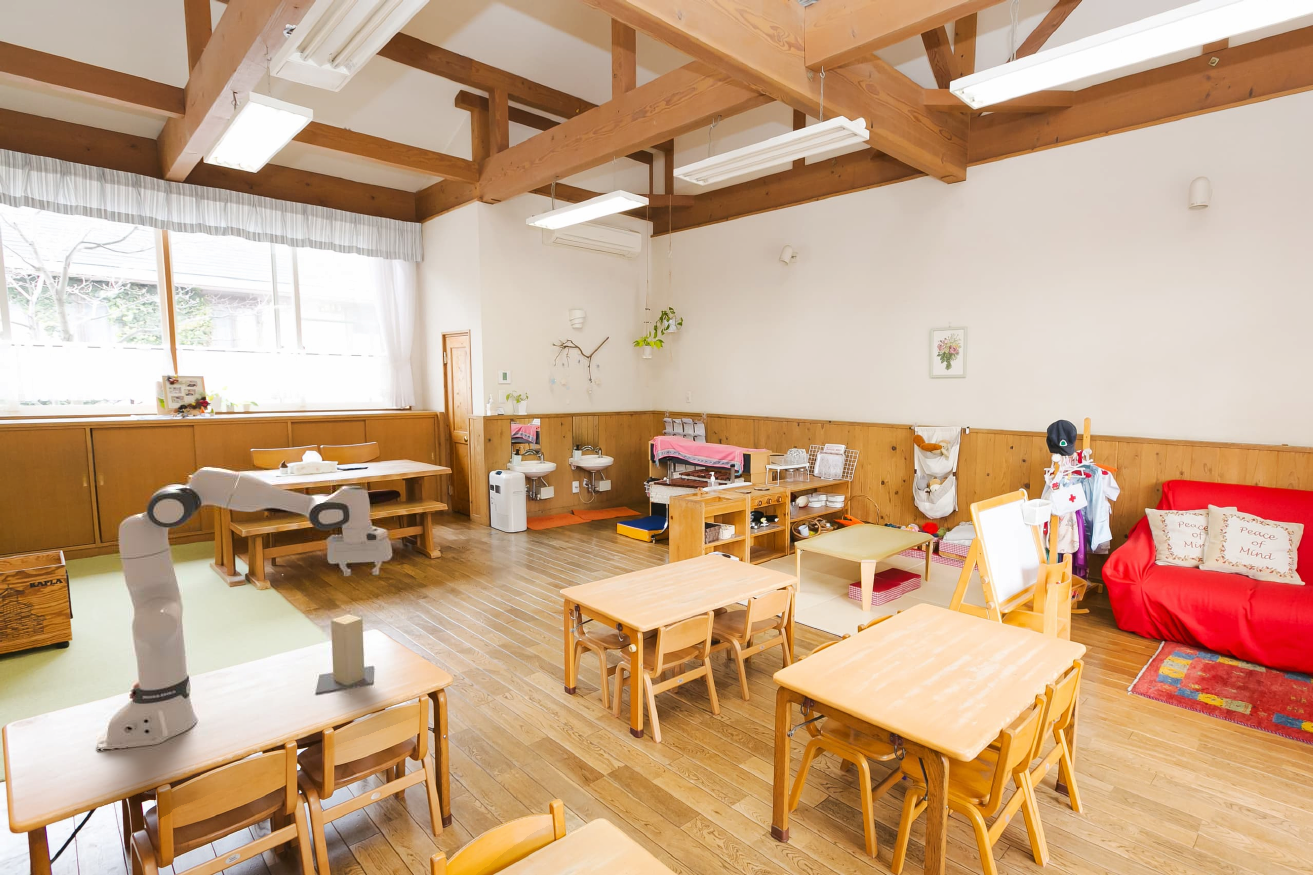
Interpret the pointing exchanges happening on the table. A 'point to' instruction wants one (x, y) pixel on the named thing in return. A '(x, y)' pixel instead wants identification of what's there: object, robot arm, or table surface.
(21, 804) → the table surface
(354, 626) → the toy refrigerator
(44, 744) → the table surface
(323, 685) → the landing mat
